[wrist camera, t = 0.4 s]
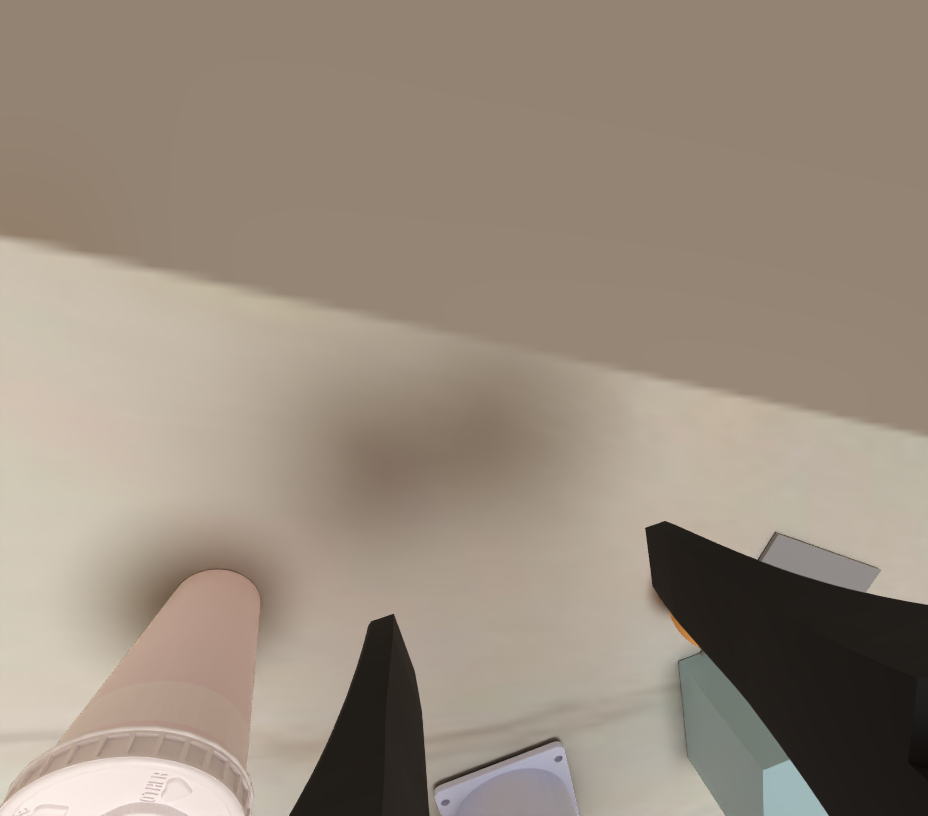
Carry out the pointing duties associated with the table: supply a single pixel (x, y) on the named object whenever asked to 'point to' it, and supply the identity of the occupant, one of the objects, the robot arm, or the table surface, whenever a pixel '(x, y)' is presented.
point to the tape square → (817, 564)
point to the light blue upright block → (738, 749)
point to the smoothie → (162, 718)
